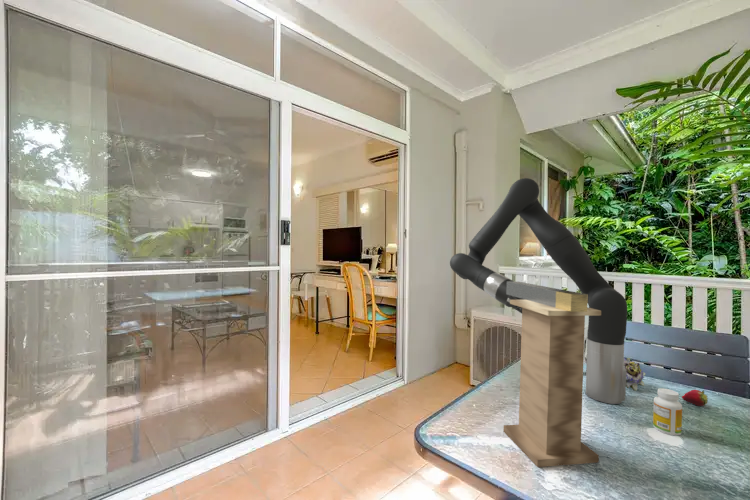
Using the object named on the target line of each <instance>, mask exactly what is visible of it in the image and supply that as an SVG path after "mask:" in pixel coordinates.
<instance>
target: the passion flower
mask: <svg viewBox="0 0 750 500" xmlns="http://www.w3.org/2000/svg"><path fill="white" fill-rule="evenodd" d="M624 368H625V369H626V389H629V388H630V389H631V390H633V391H634V392H636V391H637V390H638V385H640V386H642V387H645V383H644V381H645V376H646V372H644V371H643V370H642V369H641V366H640V363H639V362H637V363H635V361H633V360H631V358H630V357H624Z"/></svg>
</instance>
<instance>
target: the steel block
mask: <svg viewBox="0 0 750 500" xmlns="http://www.w3.org/2000/svg"><path fill="white" fill-rule="evenodd" d="M506 294H507V295H511V296H515V297H518V298H522V299H526V300H529V301H533V302H537V303H541V304H544V305H548V306H552V307H555V308H559V309H562V310H566V311H570V312H587V307H588V303H587V301H588V294H583V293H581V292H578V291H577V292H576V291H572V290H566V289H562V288H561V289H560V288H554V287H549V286H544V285H538V284H533V283H527V282H522V281H514V282H509V281H507V289H506Z"/></svg>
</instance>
